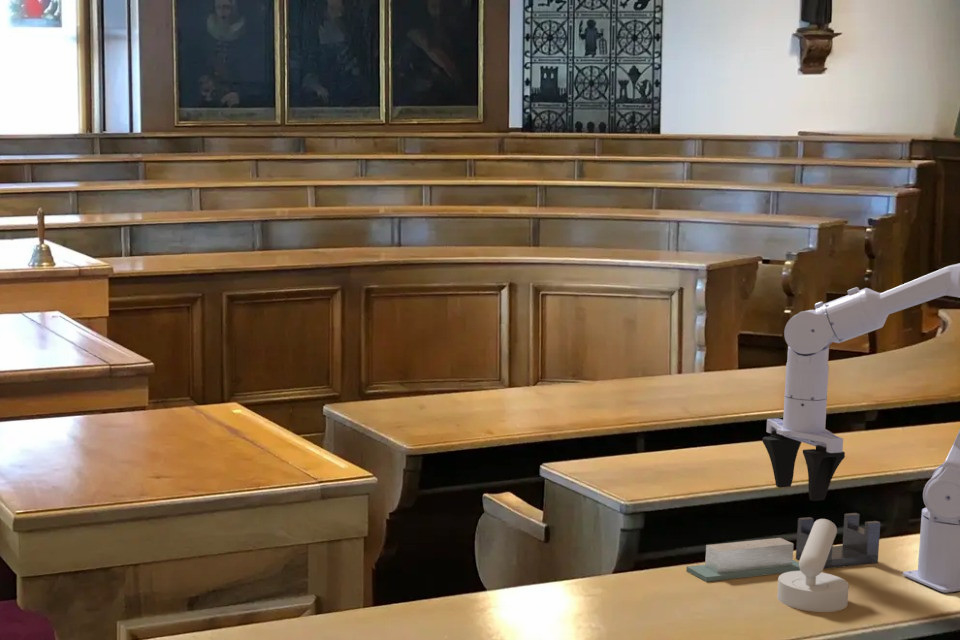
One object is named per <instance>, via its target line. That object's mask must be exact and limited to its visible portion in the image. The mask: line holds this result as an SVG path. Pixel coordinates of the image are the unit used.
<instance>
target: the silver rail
mask: <svg viewBox="0 0 960 640" xmlns="http://www.w3.org/2000/svg"><path fill="white" fill-rule="evenodd" d="M793 557H794V543H793V542H791V541H788V540H786V539H784V538H782V537H776V538H766V539H765V538H764V539H755V540H745V541H735V542H725V543H714V544H706V545H705V562H704V565H705V567H706V568H708V569H710V570H712V571H714V572H716V573H726V572H735V571H744V570H753V569H762V568H771V567H780V566H789V565H792V561H793V560H794V558H793Z"/></svg>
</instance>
